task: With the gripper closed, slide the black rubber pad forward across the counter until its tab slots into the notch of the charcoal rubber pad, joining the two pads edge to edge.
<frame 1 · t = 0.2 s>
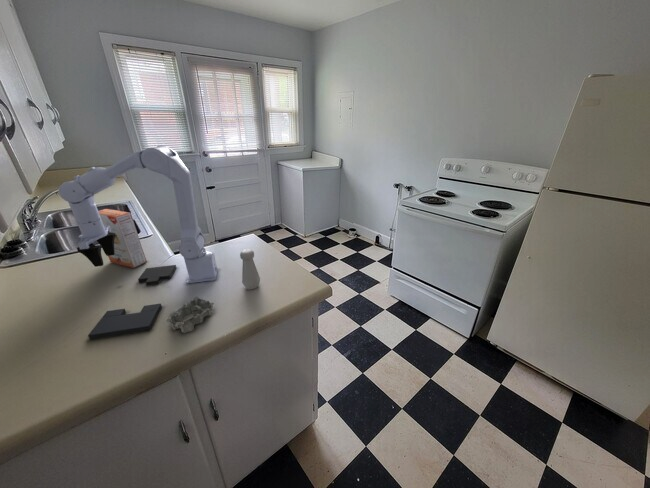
hand: (105, 260, 87), 10 cm above the countertop, tool pointing down, fingers open, 7 cm apart
salt shaker: (252, 286, 90), on the countertop
cracker box: (128, 263, 107), on the countertop
charcoal pad: (128, 322, 74), on the countertop
black pad: (158, 275, 97), on the countertop
egg carton: (192, 319, 75), on the countertop
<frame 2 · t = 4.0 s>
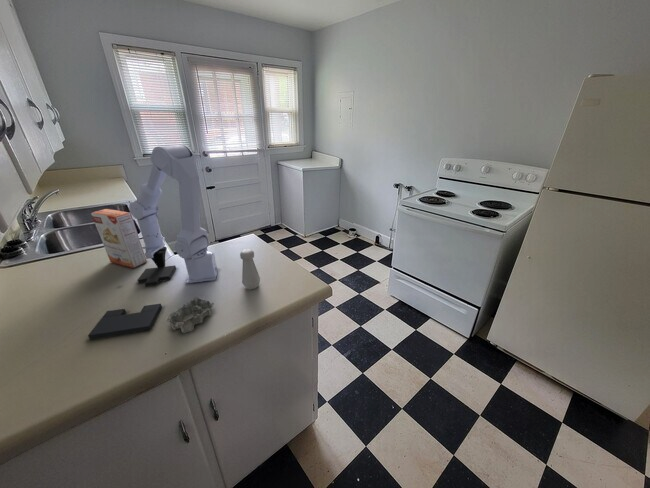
hand: (161, 267, 101), 1 cm above the countertop, tool pointing down, fingers closed
black pad: (158, 275, 97), on the countertop, touching gripper
everything else where it was.
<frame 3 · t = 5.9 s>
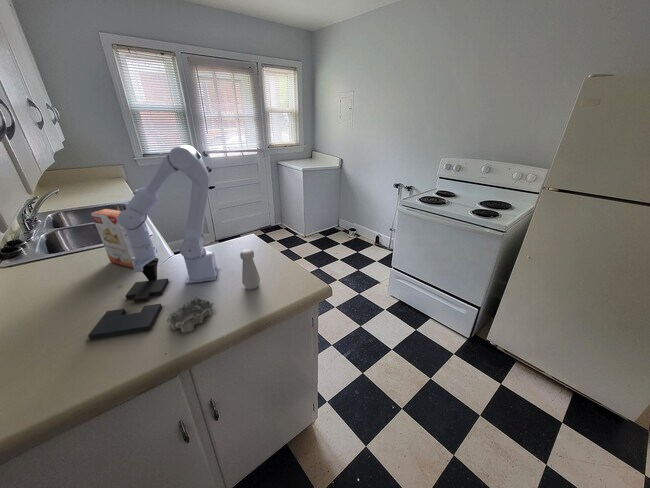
hand: (153, 280, 92), 1 cm above the countertop, tool pointing down, fingers closed
black pad: (149, 290, 89), on the countertop, touching gripper
everything else where it was.
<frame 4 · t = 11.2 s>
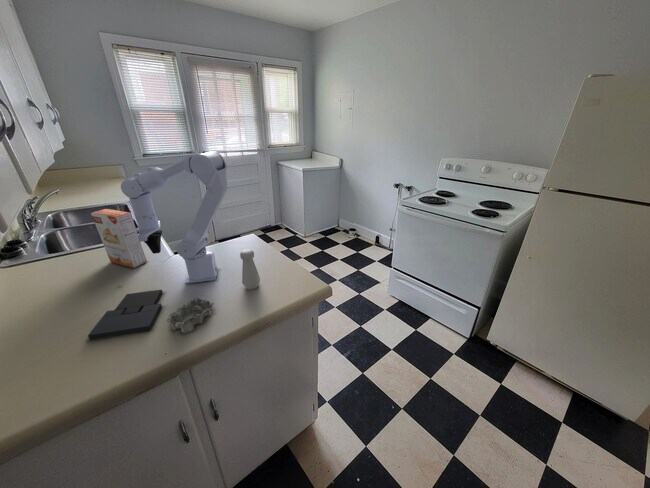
hand: (156, 252, 93), 9 cm above the countertop, tool pointing down, fingers closed
black pad: (141, 303, 82), on the countertop
everything else where it was.
at the end: black pad 0.3 cm from the target spot on the countertop beside the charcoal pad, on the countertop; black pad moved 16.9 cm from its start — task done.
